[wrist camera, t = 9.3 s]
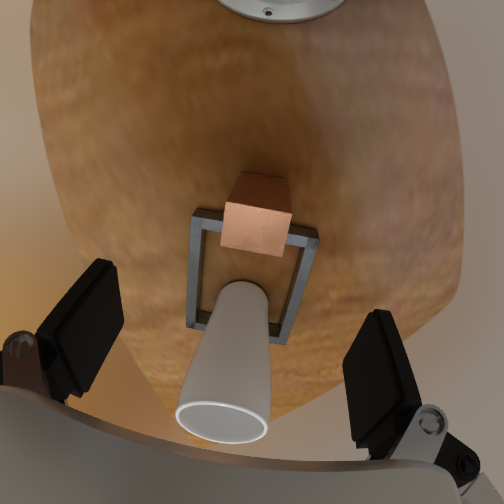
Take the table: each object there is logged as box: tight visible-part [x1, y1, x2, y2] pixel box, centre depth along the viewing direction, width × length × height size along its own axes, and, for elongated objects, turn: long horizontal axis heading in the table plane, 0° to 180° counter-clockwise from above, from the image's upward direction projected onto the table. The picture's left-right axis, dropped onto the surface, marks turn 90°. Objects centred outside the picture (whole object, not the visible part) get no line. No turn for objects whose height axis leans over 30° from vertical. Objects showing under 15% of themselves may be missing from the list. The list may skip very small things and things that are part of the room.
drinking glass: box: [175, 281, 272, 444], centre depth 24 cm, size 7×7×15 cm
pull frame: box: [186, 172, 319, 345], centre depth 25 cm, size 17×11×8 cm, turn 171°
